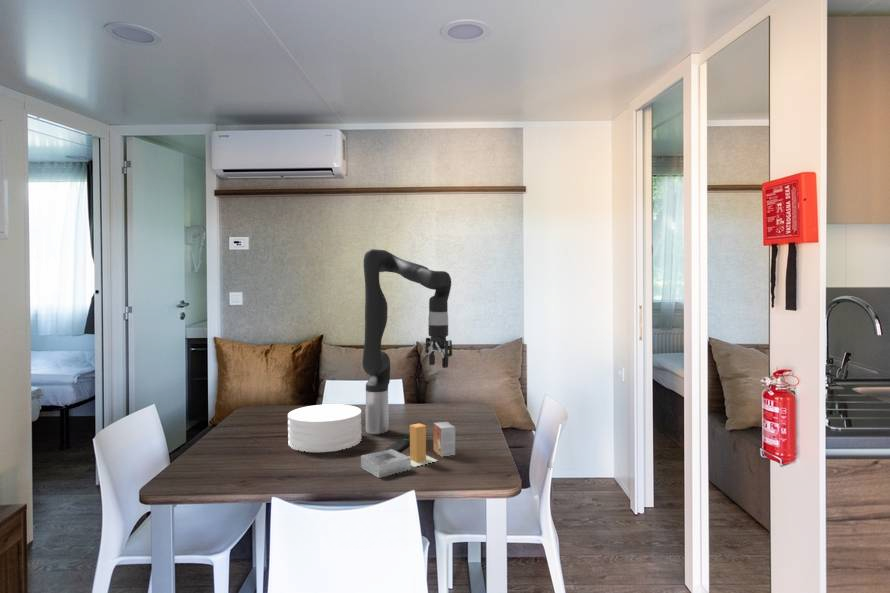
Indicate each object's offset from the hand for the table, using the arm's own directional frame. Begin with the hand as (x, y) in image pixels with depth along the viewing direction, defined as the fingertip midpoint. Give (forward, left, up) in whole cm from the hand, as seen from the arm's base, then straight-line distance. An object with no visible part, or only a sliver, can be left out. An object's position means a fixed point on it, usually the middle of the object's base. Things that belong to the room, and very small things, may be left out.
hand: (438, 366), depth 206 cm
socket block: (+11, -30, -30) cm, 44 cm away
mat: (+11, -17, -30) cm, 36 cm away
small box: (+10, -5, -30) cm, 32 cm away
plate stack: (-31, -32, -30) cm, 54 cm away
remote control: (-7, -13, -31) cm, 34 cm away
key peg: (+11, -17, -30) cm, 36 cm away
